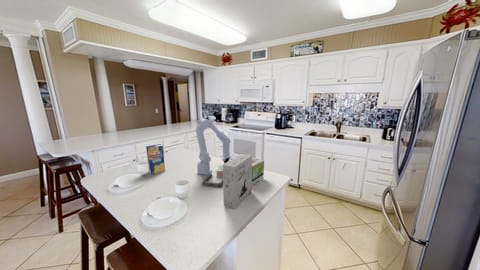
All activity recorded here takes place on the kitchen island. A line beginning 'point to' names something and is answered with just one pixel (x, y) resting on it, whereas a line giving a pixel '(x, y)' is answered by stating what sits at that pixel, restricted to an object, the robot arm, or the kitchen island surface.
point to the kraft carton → (219, 171)
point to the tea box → (257, 170)
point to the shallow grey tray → (206, 183)
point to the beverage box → (155, 158)
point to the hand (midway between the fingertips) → (226, 165)
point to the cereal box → (237, 180)
